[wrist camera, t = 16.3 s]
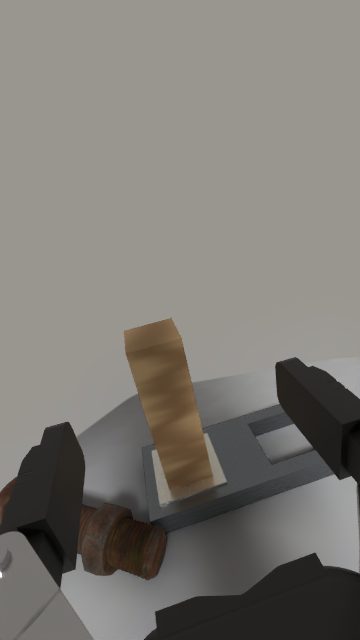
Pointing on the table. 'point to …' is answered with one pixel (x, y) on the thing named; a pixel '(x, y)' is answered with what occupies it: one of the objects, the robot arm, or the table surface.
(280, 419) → the socket plate
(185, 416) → the wooden peg
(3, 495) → the bolt
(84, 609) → the table surface
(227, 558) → the table surface
